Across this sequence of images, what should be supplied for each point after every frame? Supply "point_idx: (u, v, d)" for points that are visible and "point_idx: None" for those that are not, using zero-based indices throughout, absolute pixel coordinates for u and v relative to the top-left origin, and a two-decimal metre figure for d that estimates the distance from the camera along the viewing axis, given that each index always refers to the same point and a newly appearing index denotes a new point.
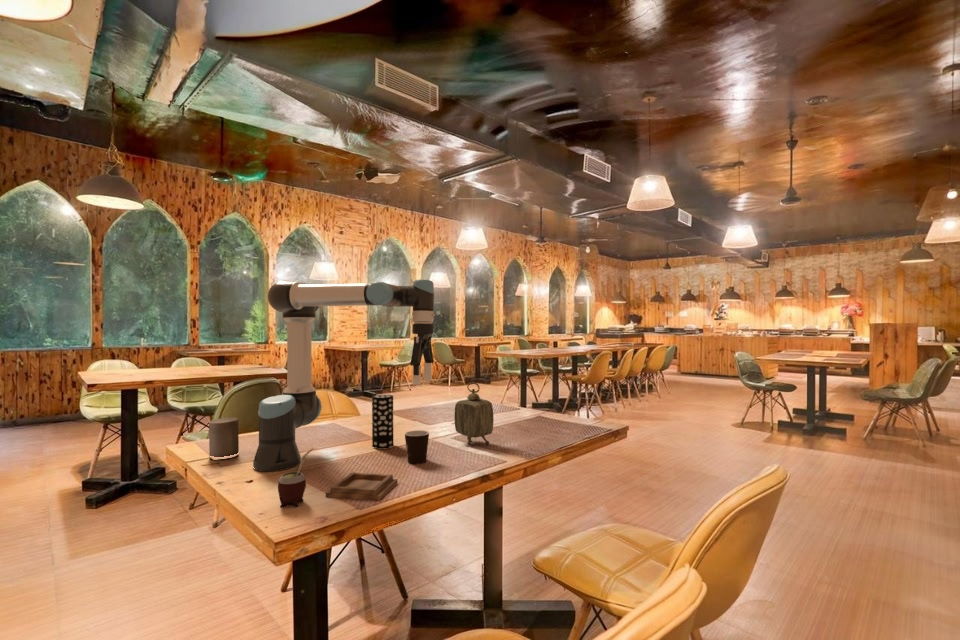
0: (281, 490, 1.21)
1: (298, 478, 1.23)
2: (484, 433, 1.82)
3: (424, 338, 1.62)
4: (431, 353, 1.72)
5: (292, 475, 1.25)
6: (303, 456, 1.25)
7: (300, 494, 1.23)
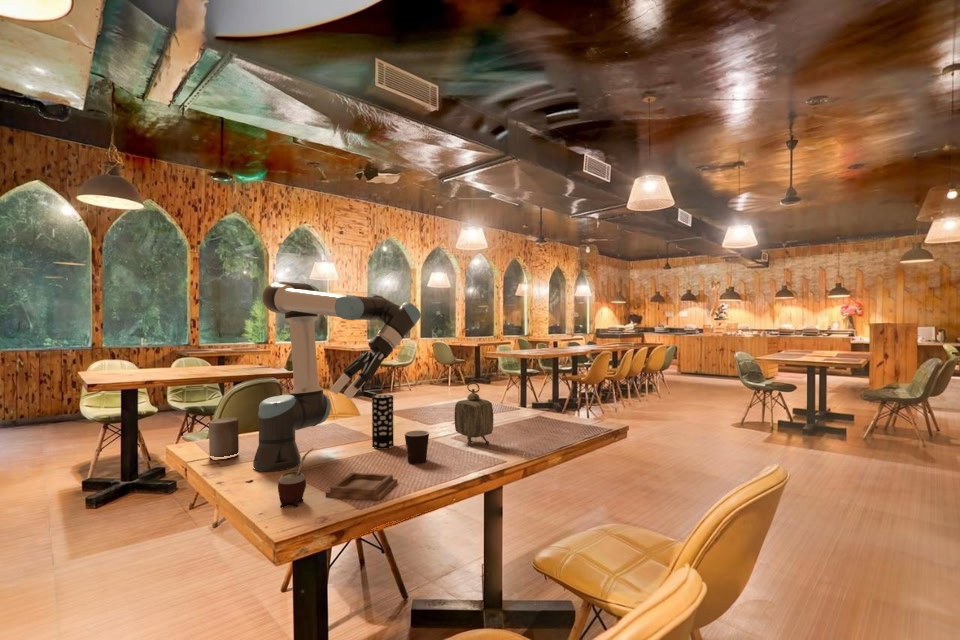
0: (281, 490, 1.21)
1: (298, 478, 1.23)
2: (484, 433, 1.82)
3: None
4: None
5: (292, 475, 1.25)
6: (303, 456, 1.25)
7: (300, 494, 1.23)
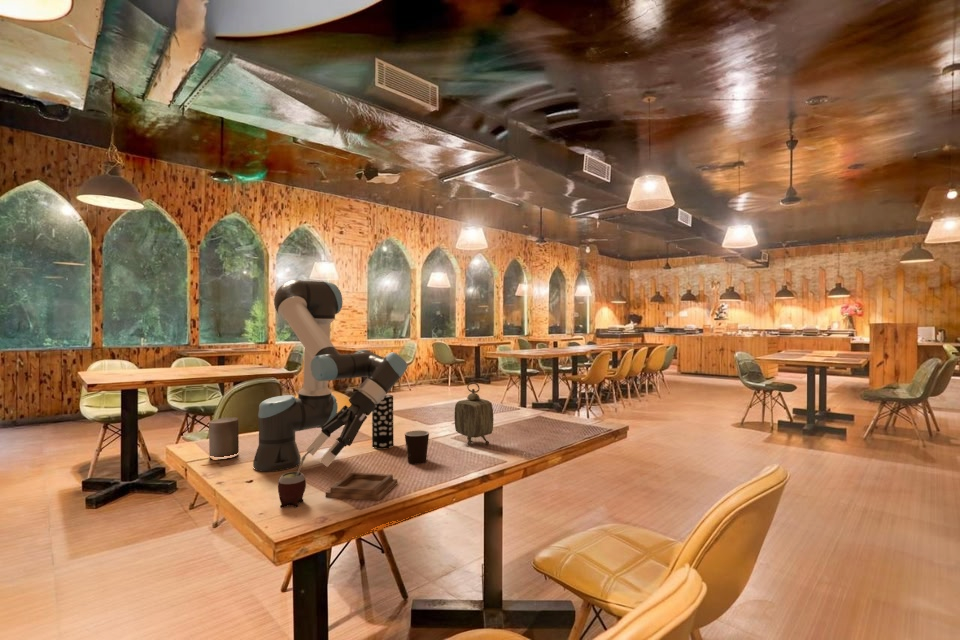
0: (281, 490, 1.21)
1: (298, 478, 1.23)
2: (484, 433, 1.82)
3: None
4: None
5: (292, 475, 1.25)
6: (303, 456, 1.25)
7: (300, 494, 1.23)
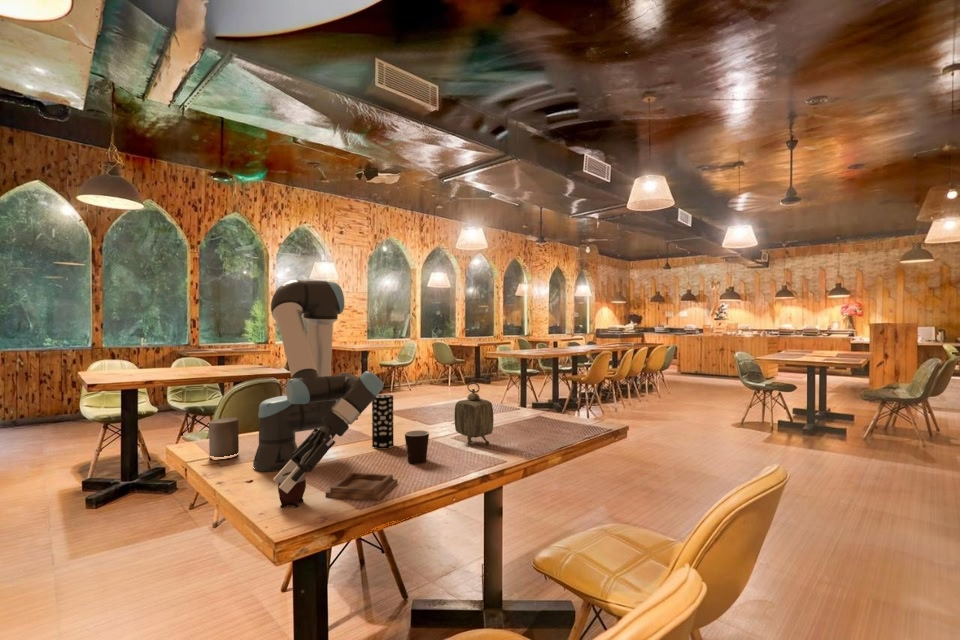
0: (281, 490, 1.21)
1: None
2: (484, 433, 1.82)
3: None
4: None
5: None
6: (303, 456, 1.25)
7: (300, 494, 1.23)
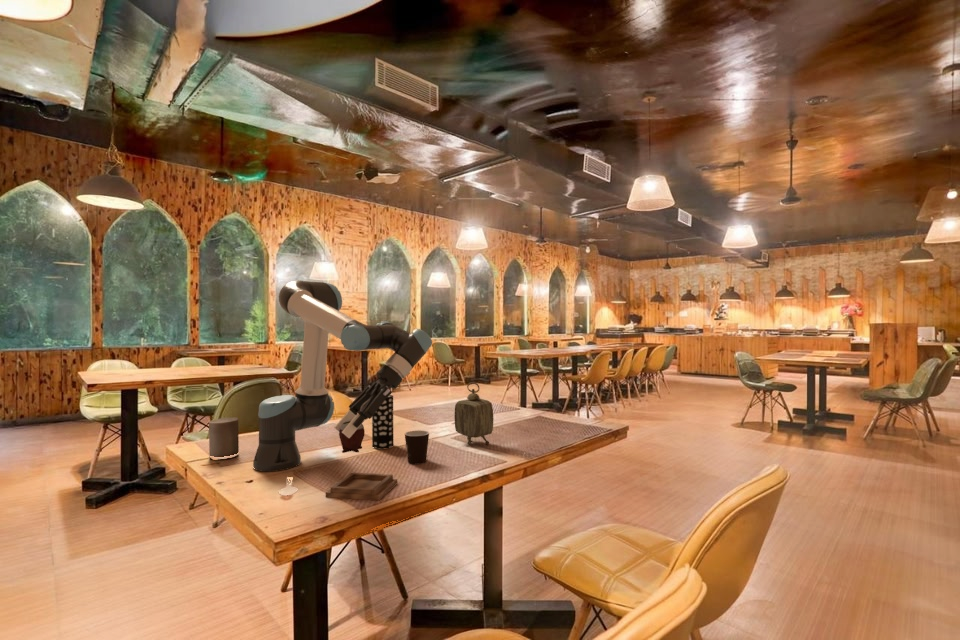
0: (343, 436, 1.30)
1: None
2: (484, 433, 1.82)
3: None
4: None
5: None
6: (362, 405, 1.33)
7: (360, 440, 1.32)
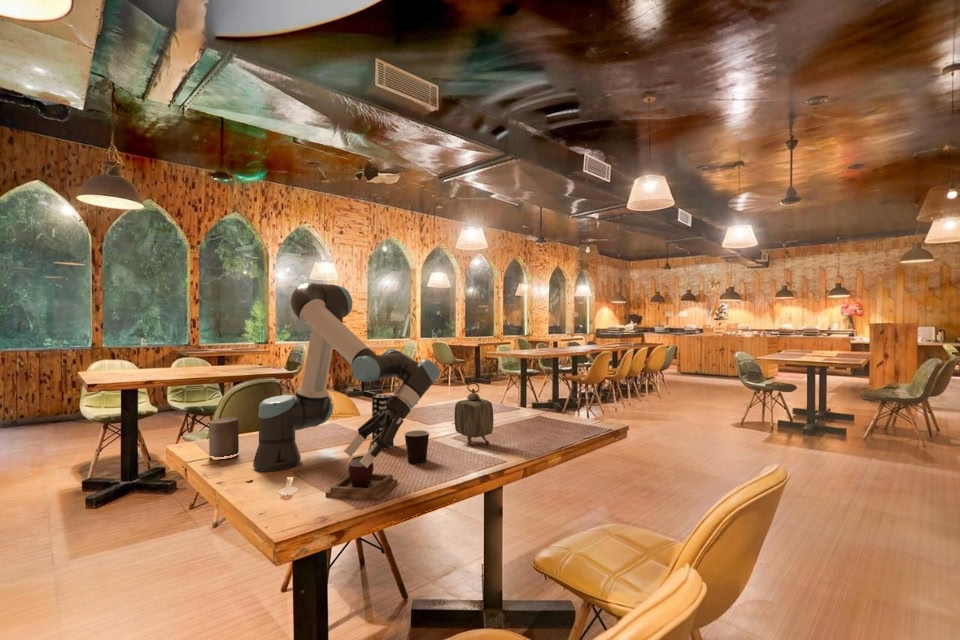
0: (353, 472, 1.32)
1: None
2: (484, 433, 1.82)
3: None
4: None
5: None
6: (371, 441, 1.35)
7: (369, 476, 1.34)
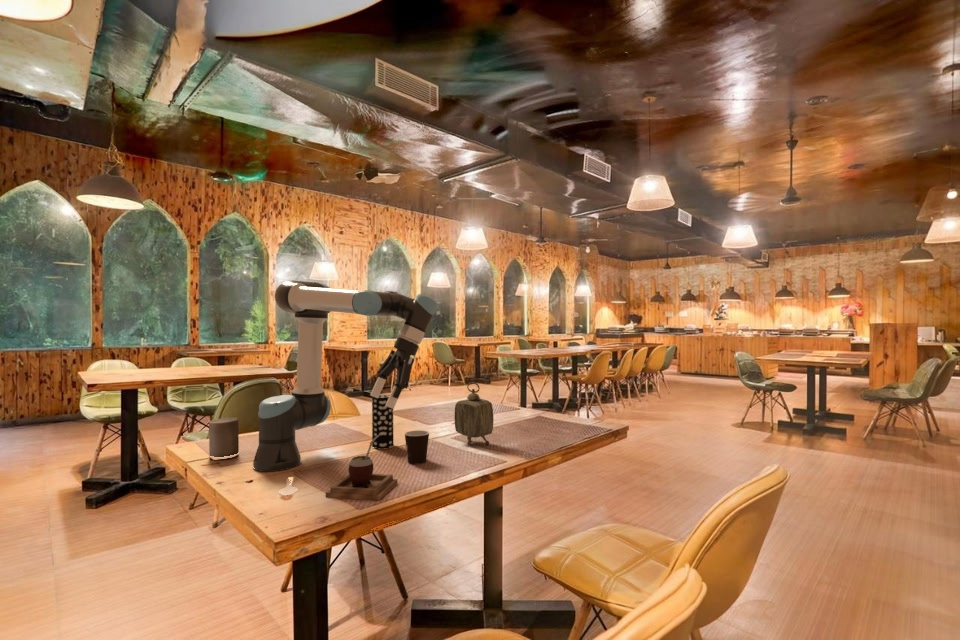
0: (353, 472, 1.32)
1: (367, 461, 1.34)
2: (484, 433, 1.82)
3: None
4: None
5: (361, 459, 1.36)
6: (371, 441, 1.35)
7: (369, 476, 1.34)
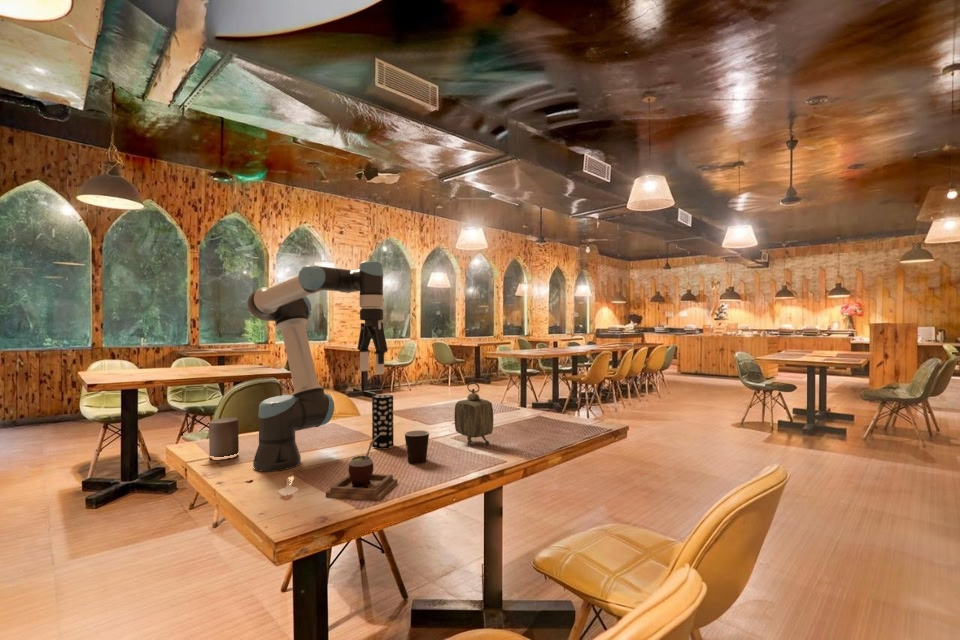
0: (353, 472, 1.32)
1: (367, 461, 1.34)
2: (484, 433, 1.82)
3: None
4: None
5: (361, 459, 1.36)
6: (371, 441, 1.35)
7: (369, 476, 1.34)
